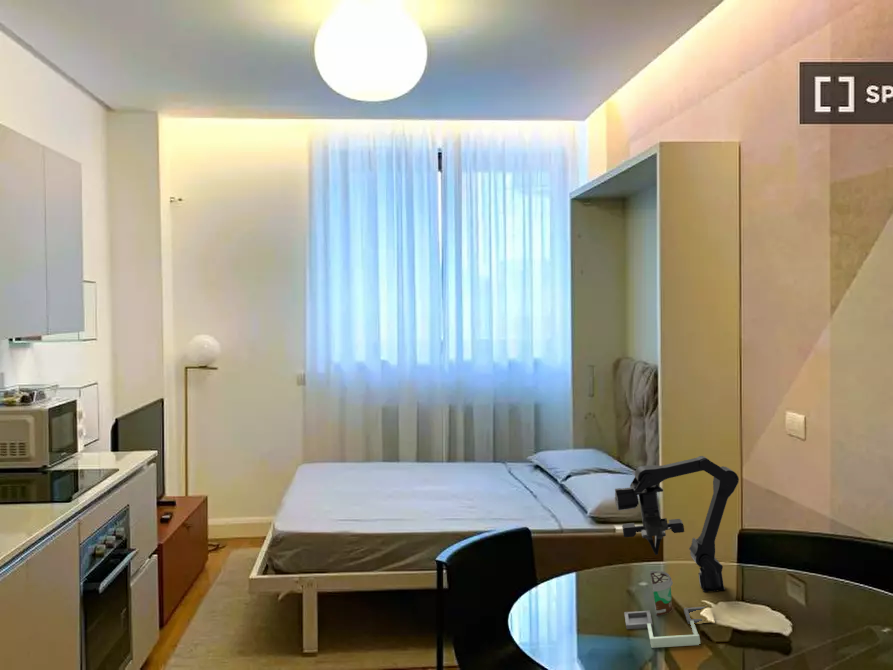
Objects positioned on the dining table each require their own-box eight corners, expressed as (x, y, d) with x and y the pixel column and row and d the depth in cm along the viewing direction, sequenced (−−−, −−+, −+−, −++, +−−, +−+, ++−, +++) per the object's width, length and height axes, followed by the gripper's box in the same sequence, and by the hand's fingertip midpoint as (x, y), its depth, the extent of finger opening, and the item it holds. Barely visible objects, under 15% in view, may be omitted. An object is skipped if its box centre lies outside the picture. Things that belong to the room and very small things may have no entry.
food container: (678, 616, 222) (673, 583, 222) (657, 617, 223) (652, 584, 223) (674, 599, 234) (669, 568, 234) (654, 601, 235) (649, 569, 235)
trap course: (710, 610, 223) (709, 602, 223) (723, 643, 202) (722, 634, 202) (624, 616, 228) (623, 608, 228) (629, 649, 206) (627, 640, 206)
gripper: (621, 516, 233) (628, 565, 233) (683, 510, 229) (690, 560, 230) (619, 506, 244) (626, 553, 244) (678, 500, 240) (685, 548, 240)
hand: (656, 554), depth 239 cm, fingers closed
